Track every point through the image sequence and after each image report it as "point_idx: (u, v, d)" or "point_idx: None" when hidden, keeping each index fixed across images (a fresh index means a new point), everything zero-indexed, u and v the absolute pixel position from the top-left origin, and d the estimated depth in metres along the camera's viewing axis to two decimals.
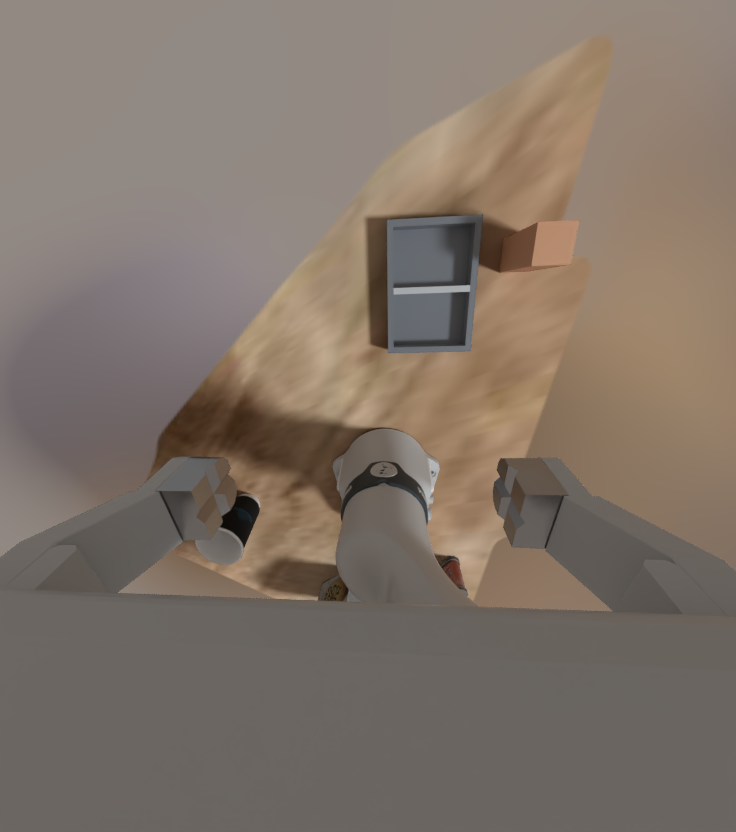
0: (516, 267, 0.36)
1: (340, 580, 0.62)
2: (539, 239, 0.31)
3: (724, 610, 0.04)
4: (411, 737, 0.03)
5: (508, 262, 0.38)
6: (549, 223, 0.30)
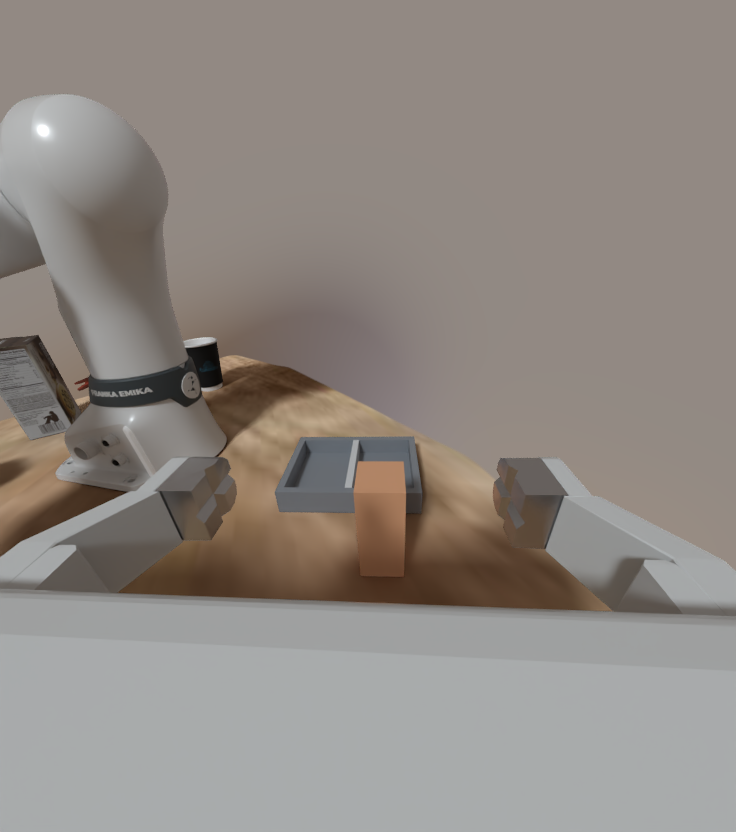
0: None
1: (72, 413, 0.57)
2: (385, 464, 0.26)
3: (724, 610, 0.04)
4: (411, 737, 0.03)
5: None
6: (402, 469, 0.25)
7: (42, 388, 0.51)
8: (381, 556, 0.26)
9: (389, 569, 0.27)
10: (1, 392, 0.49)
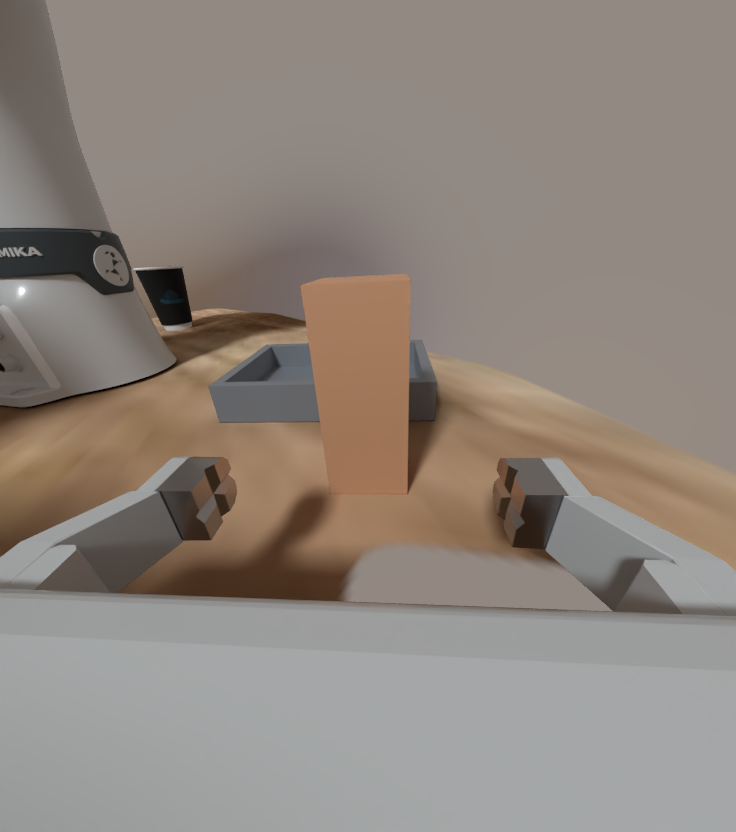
0: None
1: None
2: (373, 276, 0.14)
3: (724, 610, 0.04)
4: (411, 737, 0.03)
5: None
6: (403, 275, 0.13)
7: None
8: (364, 450, 0.14)
9: (381, 478, 0.15)
10: None
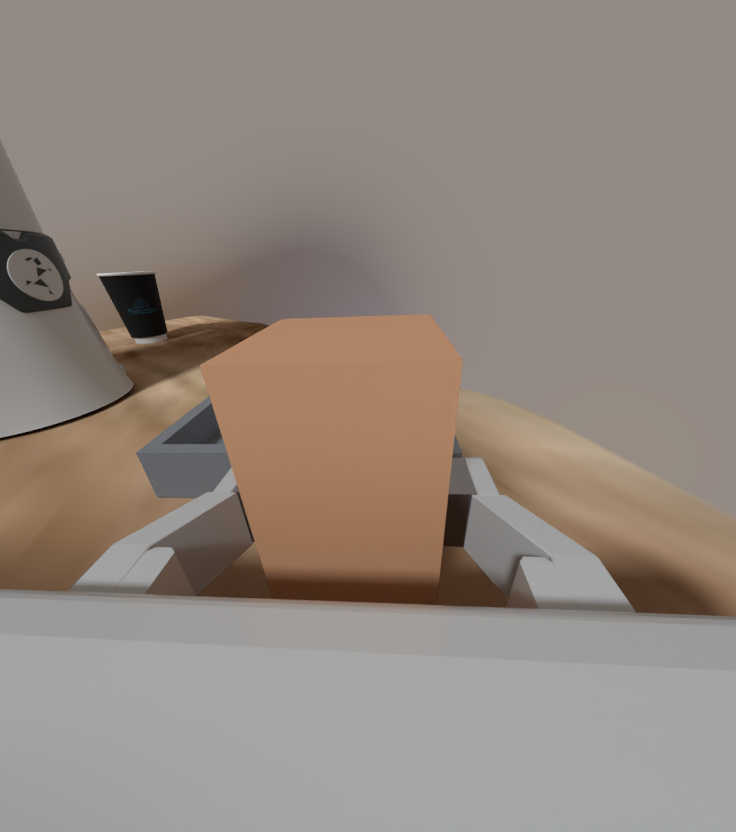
0: None
1: None
2: (370, 318, 0.08)
3: (580, 605, 0.05)
4: (411, 737, 0.03)
5: None
6: (428, 322, 0.07)
7: None
8: None
9: None
10: None
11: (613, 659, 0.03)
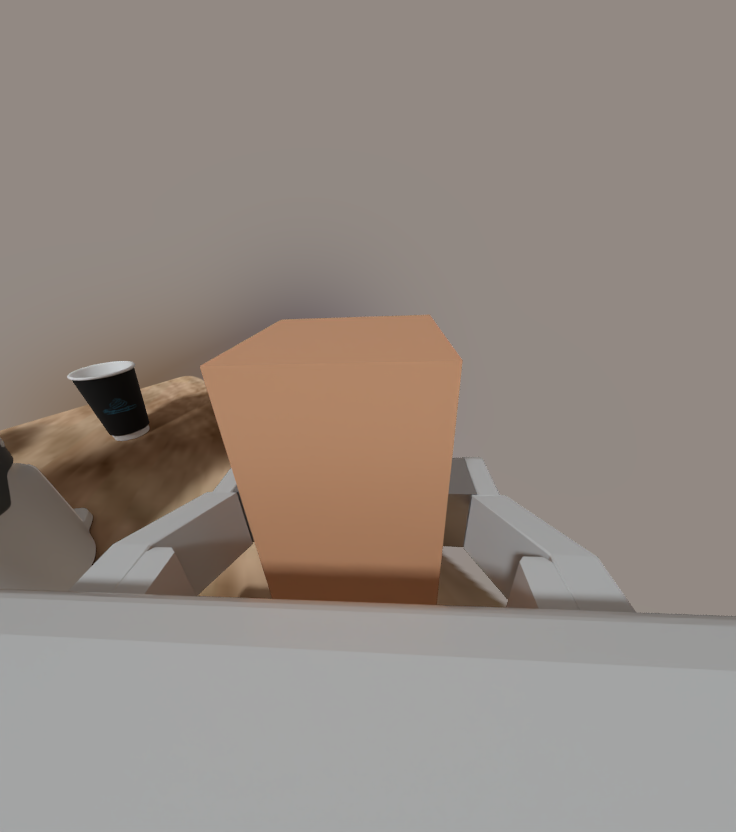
0: None
1: None
2: (370, 319, 0.08)
3: (580, 605, 0.05)
4: (411, 737, 0.03)
5: None
6: (428, 323, 0.07)
7: None
8: None
9: None
10: None
11: (613, 659, 0.03)
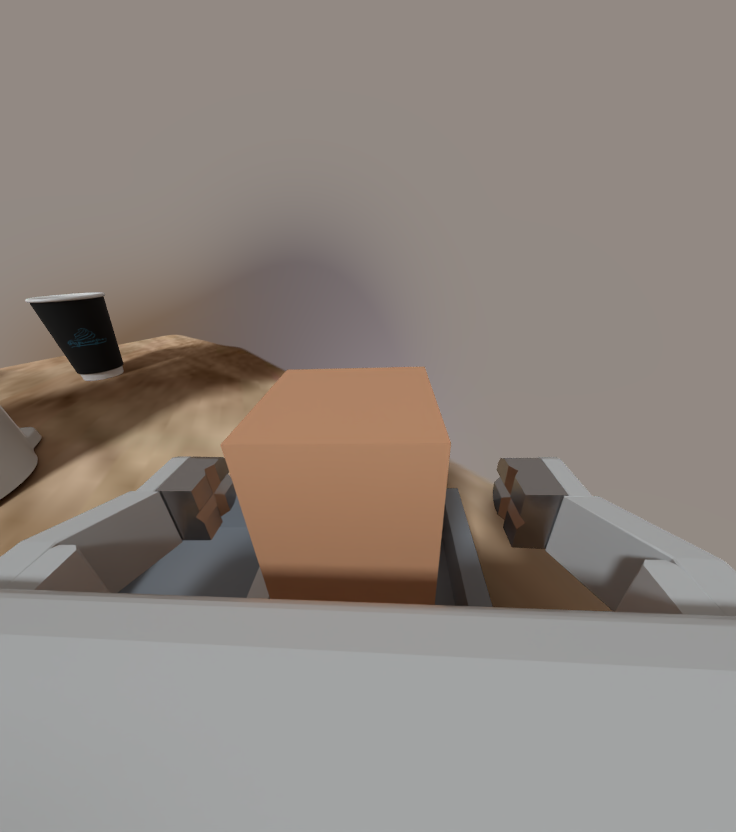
0: None
1: None
2: (370, 372, 0.08)
3: (724, 610, 0.04)
4: (411, 737, 0.03)
5: None
6: (423, 381, 0.08)
7: None
8: None
9: None
10: None
11: (613, 659, 0.03)
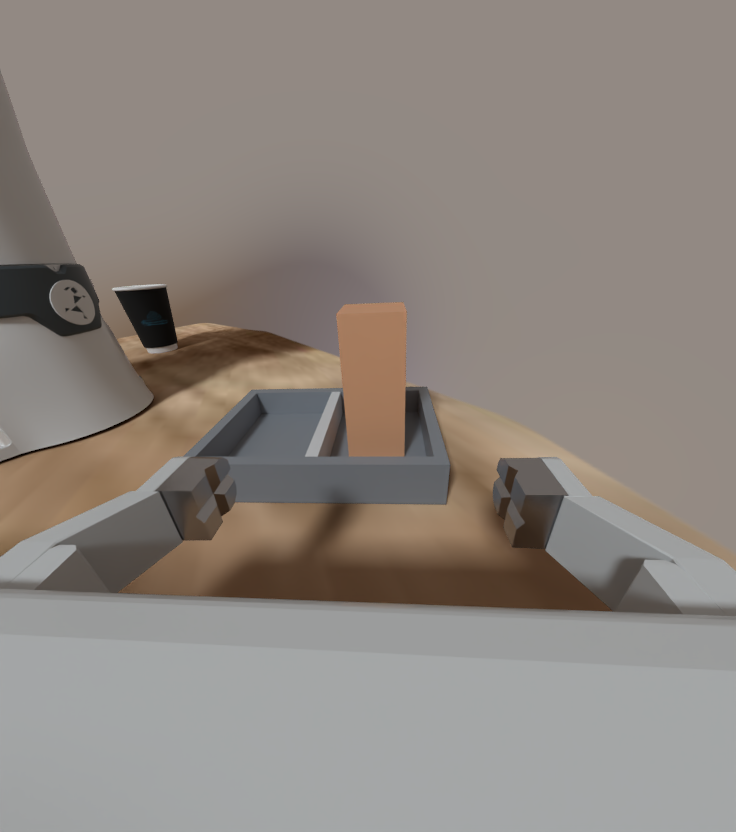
0: None
1: None
2: (380, 303, 0.20)
3: (724, 610, 0.04)
4: (411, 737, 0.03)
5: None
6: (401, 304, 0.19)
7: None
8: (374, 424, 0.20)
9: (385, 445, 0.21)
10: None
11: (613, 659, 0.03)
